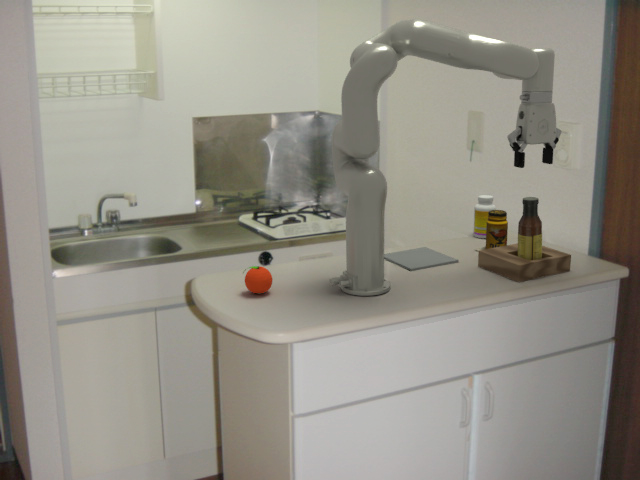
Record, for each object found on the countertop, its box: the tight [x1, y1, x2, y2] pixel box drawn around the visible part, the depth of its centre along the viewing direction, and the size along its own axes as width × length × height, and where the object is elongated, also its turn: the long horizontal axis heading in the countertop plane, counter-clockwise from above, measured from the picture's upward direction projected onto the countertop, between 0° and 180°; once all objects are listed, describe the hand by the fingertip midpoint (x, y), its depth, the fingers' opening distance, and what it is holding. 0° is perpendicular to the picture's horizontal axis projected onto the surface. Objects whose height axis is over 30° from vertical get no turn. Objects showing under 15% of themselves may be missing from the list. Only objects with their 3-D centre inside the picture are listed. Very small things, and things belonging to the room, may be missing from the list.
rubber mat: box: [384, 246, 459, 272], centre depth 213 cm, size 16×16×1 cm
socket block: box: [477, 242, 572, 283], centre depth 202 cm, size 18×16×4 cm
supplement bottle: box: [473, 194, 497, 239], centre depth 234 cm, size 7×7×13 cm
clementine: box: [242, 265, 274, 294], centre depth 187 cm, size 8×7×7 cm
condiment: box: [475, 209, 509, 252], centre depth 219 cm, size 7×8×12 cm
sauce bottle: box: [517, 196, 543, 261], centre depth 199 cm, size 7×6×20 cm
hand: (533, 165), depth 194 cm, fingers open, 9 cm apart
